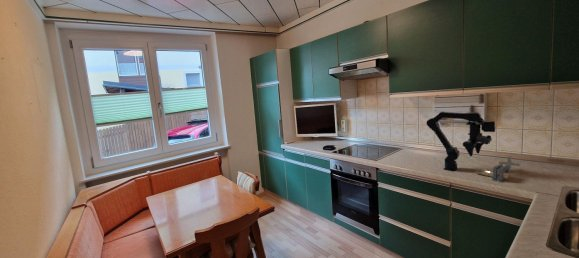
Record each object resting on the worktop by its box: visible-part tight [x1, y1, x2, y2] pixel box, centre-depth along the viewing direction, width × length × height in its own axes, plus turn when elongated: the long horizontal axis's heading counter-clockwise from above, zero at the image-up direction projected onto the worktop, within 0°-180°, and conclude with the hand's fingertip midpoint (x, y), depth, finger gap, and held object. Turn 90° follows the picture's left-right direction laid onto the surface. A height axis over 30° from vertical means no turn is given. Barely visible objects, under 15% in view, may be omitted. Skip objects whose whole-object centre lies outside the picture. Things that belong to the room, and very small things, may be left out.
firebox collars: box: [491, 163, 510, 183], centre depth 153 cm, size 4×11×8 cm, turn 121°
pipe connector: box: [498, 155, 521, 172], centre depth 164 cm, size 10×10×10 cm
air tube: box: [475, 167, 511, 181], centre depth 158 cm, size 16×4×4 cm, turn 31°
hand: (474, 154), depth 166 cm, fingers open, 9 cm apart
